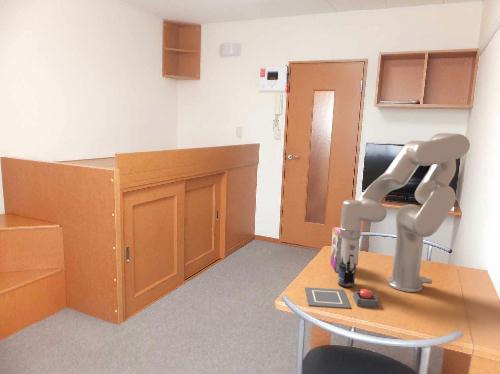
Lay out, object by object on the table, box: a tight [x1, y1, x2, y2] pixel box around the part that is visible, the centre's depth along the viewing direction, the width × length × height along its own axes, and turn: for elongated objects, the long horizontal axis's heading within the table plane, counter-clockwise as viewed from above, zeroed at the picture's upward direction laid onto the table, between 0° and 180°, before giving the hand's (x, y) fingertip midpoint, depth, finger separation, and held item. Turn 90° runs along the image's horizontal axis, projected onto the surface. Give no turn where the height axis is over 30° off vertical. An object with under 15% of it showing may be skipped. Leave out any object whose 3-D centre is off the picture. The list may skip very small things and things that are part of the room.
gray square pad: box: [304, 286, 352, 310], centre depth 133 cm, size 14×14×1 cm
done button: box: [360, 288, 373, 299], centre depth 130 cm, size 4×4×2 cm
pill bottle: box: [337, 258, 357, 289], centre depth 144 cm, size 6×6×11 cm
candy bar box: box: [330, 226, 342, 273], centre depth 161 cm, size 11×5×16 cm, turn 179°
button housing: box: [352, 290, 380, 308], centre depth 131 cm, size 7×7×2 cm
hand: (346, 278), depth 144 cm, fingers open, 6 cm apart
